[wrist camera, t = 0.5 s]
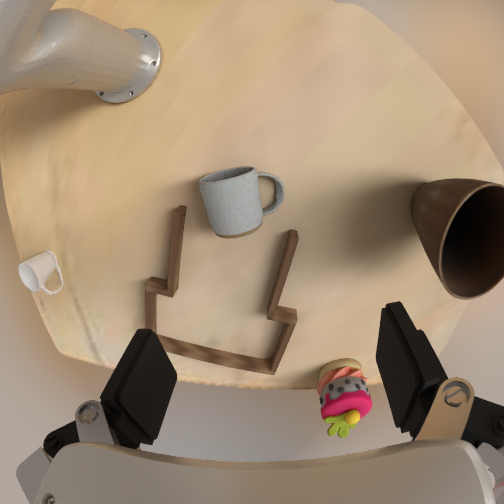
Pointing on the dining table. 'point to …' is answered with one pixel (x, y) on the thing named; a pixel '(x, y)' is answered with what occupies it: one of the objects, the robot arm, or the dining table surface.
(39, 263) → the cup
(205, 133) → the dining table surface
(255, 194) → the ceramic mug
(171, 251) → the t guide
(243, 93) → the dining table surface
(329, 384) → the cake
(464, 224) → the plant pot
